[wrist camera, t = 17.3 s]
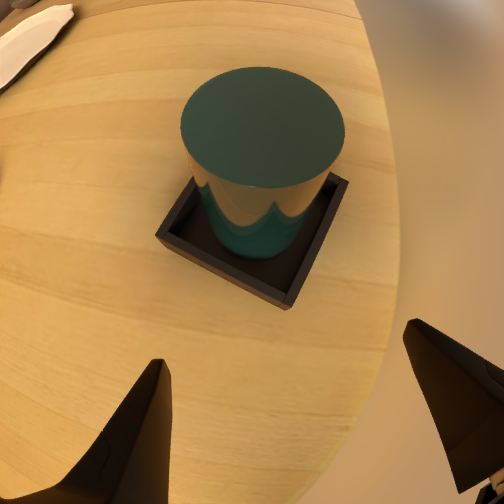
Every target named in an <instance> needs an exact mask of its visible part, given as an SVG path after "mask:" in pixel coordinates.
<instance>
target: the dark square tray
mask: <svg viewBox="0 0 504 504" xmlns="http://www.w3.org/2000/svg"><path fill="white" fill-rule="evenodd" d="M348 184H349V181H347V180H345V179H343V178H341V177H339V176H337V175H335V174H333V173H331V172H330V174H329V176H328V178H327V180H326V182H325V183H324V185H323V187H322V189H321V191H320V193H319V195H318V197H317V199H316V201H315V203H314V205H313V207H312V208H311V210H310V212H309V214H308V216H307V218H306V220H305V222H304V224H303V226H302V227H301V229H300V231H299V233H298V235H297V237H296V239H295V240H294V242H293V243H292V245H291V246H290V247H289V248H288V249H287V250H286V251H285V252H283V253H282V254H280V255H279V256H277V257H275V258H272V259H269V260H265V261H246V260H242V259H239V258H236V257H234V256H232V255H231V254H229V253H227V252H226V251H225V250H224V249H223V248H222V247H221V246H220V245H219V244H218V243H217V241H216V240H215V238H214V236H213V234H212V231H211V228H210V225H209V222H208V219H207V216H206V213H205V210H204V207H203V203H202V200H201V197H200V194H199V191H198V188H197V185H196V182H195V178H194V175H193V177H192V178H191V180H190V181H189V183H188V184H187V186H186V187H185V189H184V190H183V192H182V193H181V195H180V196H179V198H178V199H177V201H176V202H175V204H174V205H173V207H172V208H171V210H170V212H169V213H168V215H167V216H166V218H165V219H164V221H163V223H162V224H161V226H160V227H159V229H158V231H157V232H156V234H155V236H156V237H157V238H158V239H159V240H160V242H161V243H162V244H163V245H164V246H165V247H167V248H168V249H170V250H172V251H174V252H176V253H177V254H179V255H181V256H183V257H185V258H186V259H188V260H190V261H192V262H194V263H196V264H197V265H199V266H201V267H203V268H205V269H207V270H208V271H210V272H212V273H214V274H216V275H218V276H220V277H221V278H223V279H225V280H227V281H229V282H231V283H233V284H235V285H237V286H238V287H240V288H242V289H244V290H246V291H248V292H250V293H252V294H254V295H256V296H258V297H259V298H261V299H263V300H265V301H267V302H269V303H271V304H273V305H275V306H277V307H279V308H281V309H283V310H288V309H290V308H292V306H293V304H294V302H295V300H296V298H297V296H298V294H299V292H300V290H301V288H302V286H303V284H304V282H305V280H306V278H307V275H308V273H309V271H310V269H311V267H312V265H313V263H314V261H315V259H316V256H317V254H318V252H319V250H320V248H321V246H322V243H323V241H324V239H325V237H326V234H327V232H328V230H329V228H330V226H331V223H332V221H333V219H334V216H335V214H336V212H337V210H338V207H339V205H340V203H341V200H342V198H343V195H344V193H345V191H346V188H347V186H348Z"/></svg>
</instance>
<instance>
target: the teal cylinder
mask: <svg viewBox="0 0 504 504" xmlns="http://www.w3.org/2000/svg"><path fill="white" fill-rule="evenodd" d="M180 129H181V136H182V140H183V143H184V146H185V150H186V153H187V156H188V159H189V163H190V166H191V169H192V172H193V175H194V178H195V182H196V185H197V188H198V191H199V194H200V197H201V200H202V203H203V207H204V210H205V213H206V216H207V219H208V222H209V225H210V228H211V231H212V234H213V236H214V238H215V240H216V241H217V243H218V244H219V245H220V246H221V247H222V248H223V249H224V250H225V251H226V252H227V253H229V254H231V255H232V256H234V257H236V258H239V259H242V260H246V261H265V260H269V259H272V258H275V257H277V256H279V255H280V254H282V253H283V252H285V251H286V250H287V249H288V248H289V247H290V246H291V245H292V243H293V242H294V240H295V239H296V237H297V235H298V233H299V231H300V229H301V227H302V226H303V224H304V222H305V220H306V218H307V216H308V214H309V212H310V210H311V208H312V207H313V205H314V203H315V201H316V199H317V197H318V195H319V193H320V191H321V189H322V187H323V185H324V183H325V182H326V180H327V178H328V176H329V174H330V172H331V170H332V168H333V166H334V164H335V162H336V160H337V158H338V156H339V154H340V152H341V149H342V147H343V144H344V138H345V127H344V122H343V118H342V115H341V112H340V110H339V109H338V107H337V105H336V104H335V102H334V101H333V99H332V98H331V97H330V96H329V95H328V94H327V93H326V92H325V91H324V90H323V89H322V88H321V87H319V86H318V85H317V84H315V83H314V82H312V81H310V80H309V79H307V78H305V77H303V76H300V75H298V74H296V73H293V72H290V71H286V70H282V69H277V68H270V67H248V68H240V69H236V70H232V71H229V72H225V73H223V74H220V75H218V76H216V77H214V78H212V79H210V80H209V81H207V82H206V83H204V84H203V85H202V86H200V87H199V88H198V89H197V90H196V91H195V92H194V93H193V95H192V96H191V97H190V98H189V100H188V102H187V103H186V105H185V108H184V110H183V112H182V117H181V125H180Z"/></svg>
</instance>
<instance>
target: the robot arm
mask: <svg viewBox="0 0 504 504" xmlns="http://www.w3.org/2000/svg"><path fill="white" fill-rule="evenodd" d="M403 341H404V345H405V347H406V350H407V353H408V356H409V359H410V362H411V365H412V368H413V371H414V374H415V376H416V378H417V380H418V383H419V385H420V388H421V390H422V392H423V395H424V397H425V400H426V402H427V404H428V407H429V409H430V412H431V414H432V417H433V419H434V422H435V424H436V427H437V430H438V432H439V435H440V438H441V440H442V444H443V446H444V449H445V452H446V454H447V458H448V461H449V464H450V467H451V471H452V473H453V477H454V480H455V484H456V487H457V491H458V493H459V494H461V493H463V492H464V491H466V490H468V489H470V488H472V487H473V486H475V485H477V484H478V483H480V482H482V481H484V480H485V479H487V478H489V480H490V483H488V484H487V485H486V486H484V487H483V488H482V489H480V492H479V494H478V497H477V500H476V503H475V504H504V370H502V369H501V368H499V367H497V366H495V365H494V364H492V363H491V362H489V361H487V360H485V359H484V358H483V357H481V356H479V355H478V354H476V353H474V352H473V351H471V350H470V349H468V348H466V347H465V346H463V345H462V344H460V343H458V342H457V341H455V340H453V339H452V338H450V337H448V336H447V335H445V334H443V333H442V332H440V331H439V330H437V329H435V328H434V327H432V326H430V325H429V324H427V323H425V322H423V321H422V320H420V319H418V318H416V319H412V320H409V321H408V323H407V325H406V328H405V331H404V334H403ZM171 430H172V389H171V374H170V371H169V369H168V367H167V364H166V362H165V360H164V359H153V360H151V361H150V363H149V364H148V366H147V367H146V368H145V370H144V371H143V373H142V374H141V376H140V377H139V378H138V380H137V381H136V383H135V384H134V385H133V387H132V388H131V390H130V391H129V393H128V394H127V395H126V397H125V398H124V400H123V401H122V403H121V404H120V405H119V407H118V408H117V410H116V411H115V413H114V414H113V416H112V417H111V418H110V420H109V421H108V423H107V424H106V426H105V427H104V429H103V431H101V433H100V434H99V436H98V437H97V439H96V440H95V441H94V443H93V444H92V445H91V447H90V448H89V449H88V451H87V452H86V453H85V454H84V455H83V457H82V458H81V459H80V460H79V461H78V462H77V464H76V465H75V466H74V467H73V468H72V469H71V470H70V472H69V473H68V474H67V475H66V476H65V477H64V478H63V479H62V480H61V481H60V482H59V483H57V484H56V485H54V486H52V487H50V488H47V489H44V490H41V491H38V492H35V493H32V494H29V495H26V496H23V497H19V498H15V499H3V498H1V497H0V504H168V489H169V463H170V445H171Z"/></svg>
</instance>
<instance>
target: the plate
mask: <svg viewBox="0 0 504 504" xmlns="http://www.w3.org/2000/svg"><path fill="white" fill-rule="evenodd" d="M73 6H74V5H73V4H67V5H62V6H59V5H55V6H52V7H50V8H48V9H46V10H44V11H42V12H40V13H38V14H35V15H33V16H31V17H29V18H27V19H25V20H24V21H22V22H21V23H20V24H18V25H17V26H16V27H14V28H13V29H12V30H10V31H9V32H7V33H6V34H5V35H3V36H2V37H1V38H0V94H2V93H3V92H4V91H5V90H6V89H7V88H8V87H9V86H11V85H12V84H13V83H14V82H15V81H16V80H17V79H18V78H19V77H20V76H21V75H22V74H24V73H25V72H26V71H27V70H28V69H29V68H30V67H31V66H32V65H33V64H34V63H35V62H36V61H37V60H38V59H39V58H40V57H41V56H42V55H43V54H44V53H45V51H46V50H47V49H48V48H49V47H50V46H51V44H52V43H53V42H54V41H55V39H56V38H57V36H58V35H59V34H60V32H61V31H62V30H63V29H64V28H65V26H66V25H67V24H68V23H69V22H70V20H71V19H72V18H73V16H74V13H73V11H72V8H73Z"/></svg>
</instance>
